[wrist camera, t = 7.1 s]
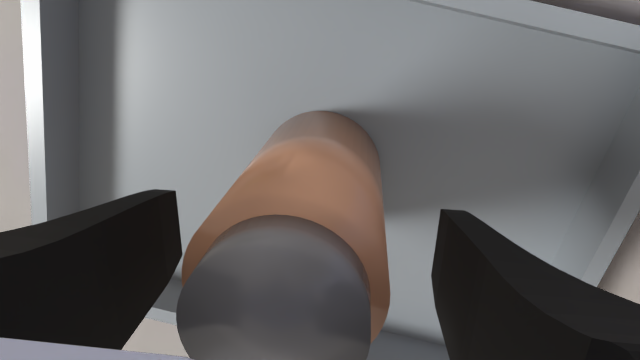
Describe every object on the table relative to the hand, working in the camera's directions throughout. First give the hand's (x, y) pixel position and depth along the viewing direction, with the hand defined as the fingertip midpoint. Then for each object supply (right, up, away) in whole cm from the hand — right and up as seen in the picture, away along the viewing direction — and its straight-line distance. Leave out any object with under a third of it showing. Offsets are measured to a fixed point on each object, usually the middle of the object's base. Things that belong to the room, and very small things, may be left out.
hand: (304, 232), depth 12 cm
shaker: (0, +2, +4) cm, 5 cm away
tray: (+1, +2, +5) cm, 5 cm away
